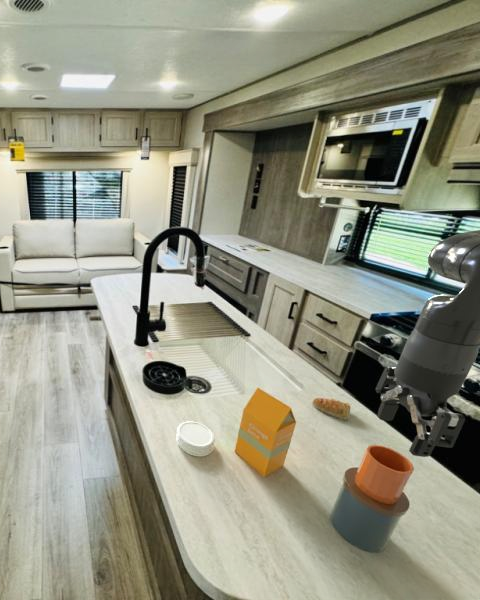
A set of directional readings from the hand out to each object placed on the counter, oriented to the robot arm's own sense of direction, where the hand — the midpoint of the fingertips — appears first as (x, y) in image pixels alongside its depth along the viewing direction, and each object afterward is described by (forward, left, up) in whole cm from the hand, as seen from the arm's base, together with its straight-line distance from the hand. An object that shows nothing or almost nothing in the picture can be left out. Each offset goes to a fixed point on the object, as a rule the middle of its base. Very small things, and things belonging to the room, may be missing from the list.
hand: (399, 435), depth 57 cm
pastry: (-13, -39, -26) cm, 49 cm away
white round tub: (+31, -17, -26) cm, 44 cm away
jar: (0, 0, -26) cm, 26 cm away
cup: (0, 0, -14) cm, 14 cm away
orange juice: (+15, -15, -26) cm, 33 cm away
